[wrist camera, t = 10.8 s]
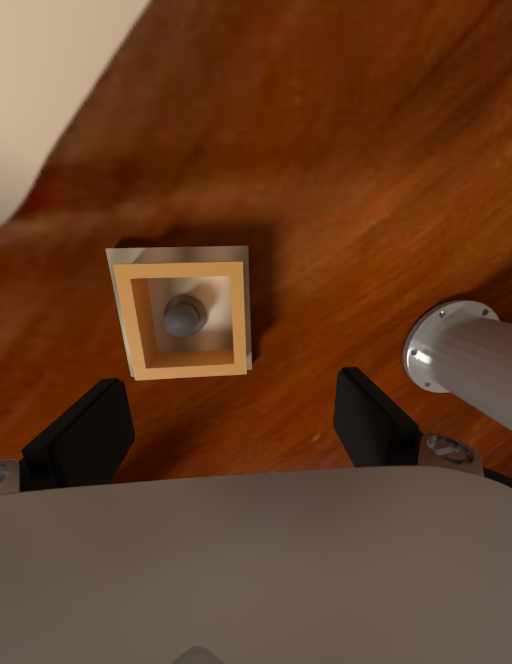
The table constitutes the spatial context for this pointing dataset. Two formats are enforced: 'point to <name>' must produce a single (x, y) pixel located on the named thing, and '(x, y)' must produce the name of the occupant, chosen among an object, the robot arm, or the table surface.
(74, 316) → the table surface
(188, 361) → the tan square frame
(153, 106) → the table surface
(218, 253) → the board
